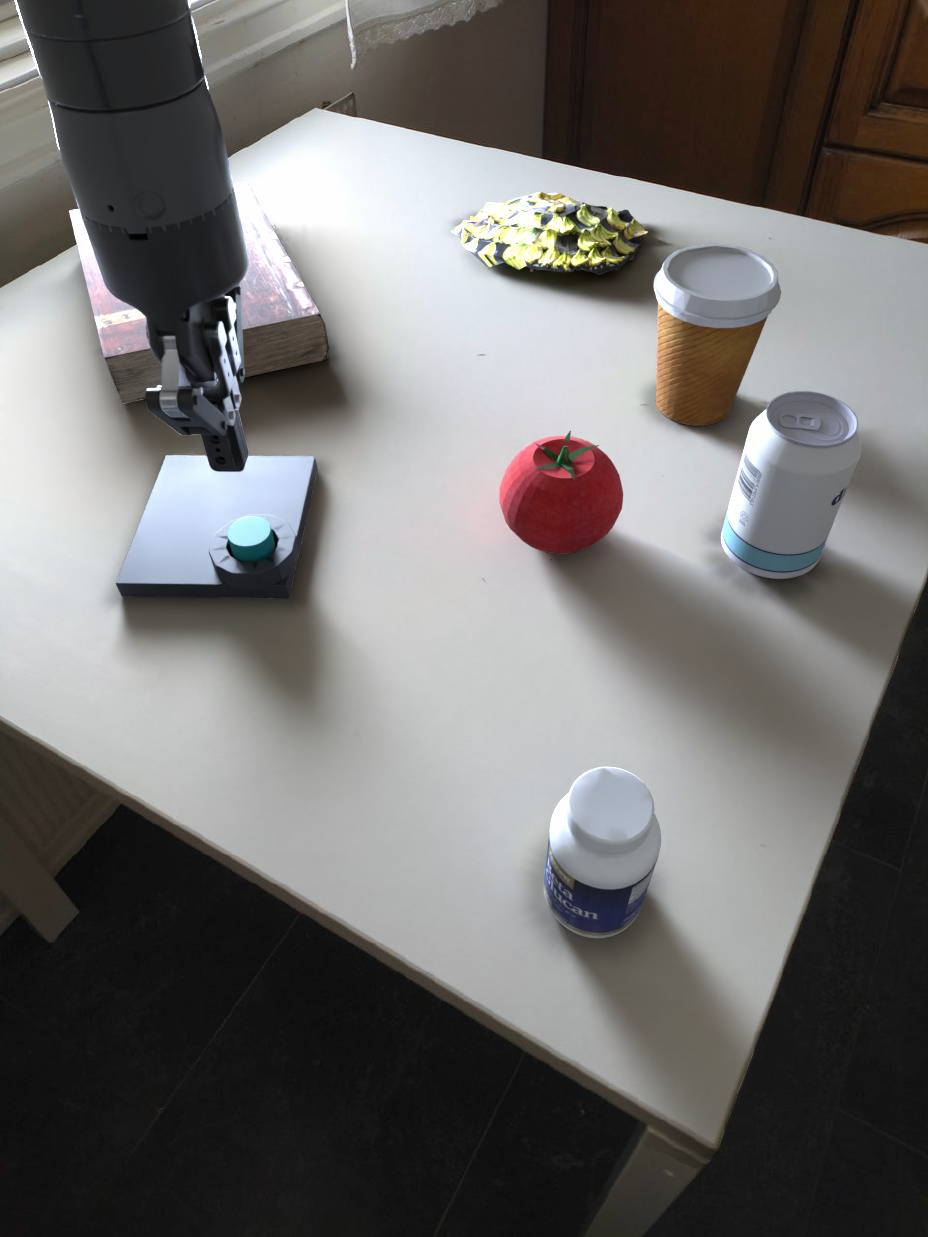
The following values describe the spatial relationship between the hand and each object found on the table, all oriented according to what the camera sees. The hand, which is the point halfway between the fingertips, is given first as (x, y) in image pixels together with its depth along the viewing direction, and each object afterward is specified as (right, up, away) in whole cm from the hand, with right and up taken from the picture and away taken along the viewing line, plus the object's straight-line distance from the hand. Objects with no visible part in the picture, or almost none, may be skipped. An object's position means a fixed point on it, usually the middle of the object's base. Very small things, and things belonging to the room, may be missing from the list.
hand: (230, 464), depth 57 cm
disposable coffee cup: (+34, +8, +20) cm, 41 cm away
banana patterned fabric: (+23, +30, +39) cm, 54 cm away
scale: (-3, -3, +11) cm, 12 cm away
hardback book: (-12, +21, +32) cm, 41 cm away
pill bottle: (+22, -25, -8) cm, 34 cm away
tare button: (0, -5, +6) cm, 8 cm away
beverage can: (+37, -5, +8) cm, 38 cm away
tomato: (+22, -4, +10) cm, 24 cm away
